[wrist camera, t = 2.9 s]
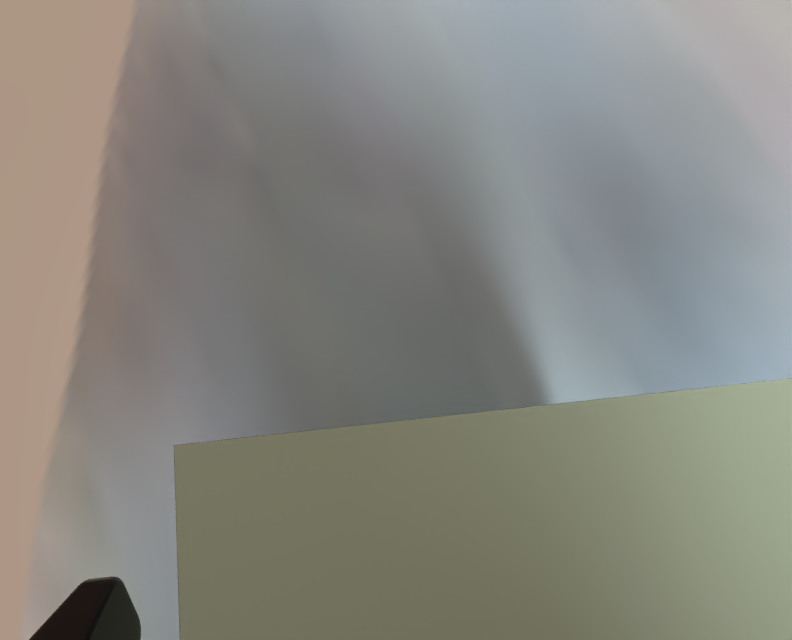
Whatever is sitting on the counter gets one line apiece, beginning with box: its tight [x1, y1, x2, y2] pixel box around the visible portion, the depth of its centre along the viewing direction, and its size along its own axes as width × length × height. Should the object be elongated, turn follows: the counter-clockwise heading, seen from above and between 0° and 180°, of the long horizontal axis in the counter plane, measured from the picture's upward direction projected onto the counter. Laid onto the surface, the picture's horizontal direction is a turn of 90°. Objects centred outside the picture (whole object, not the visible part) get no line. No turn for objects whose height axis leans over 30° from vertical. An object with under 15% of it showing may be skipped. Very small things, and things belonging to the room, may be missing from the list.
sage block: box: [174, 378, 792, 640], centre depth 10 cm, size 5×5×11 cm
